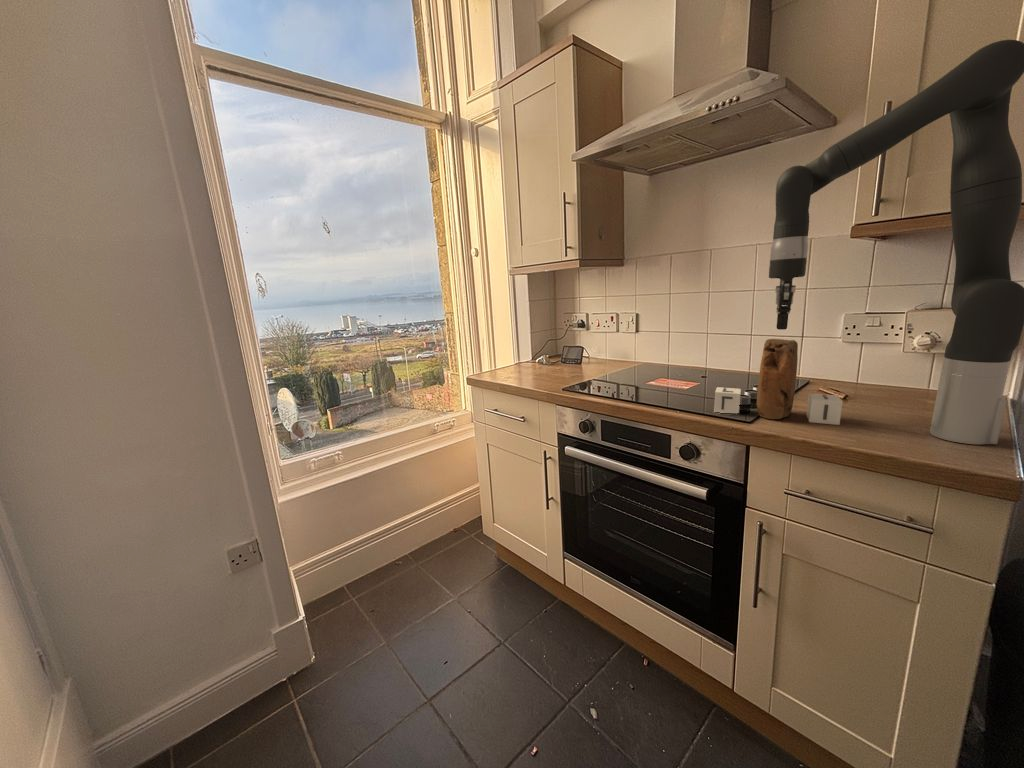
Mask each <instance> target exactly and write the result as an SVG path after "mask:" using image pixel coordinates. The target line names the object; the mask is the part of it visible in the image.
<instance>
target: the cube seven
mask: <svg viewBox="0 0 1024 768" xmlns="http://www.w3.org/2000/svg"><path fill="white" fill-rule="evenodd" d="M741 392H742V389H741V388H737V387H736V388H733V387H721V386H720V387H719V386H718V387H716V388H715V391H714V404H713V413H714V412H720V413H739V414H740V406H739V405H740V402H741V395H742V394H741ZM720 413H719V414H720Z"/></svg>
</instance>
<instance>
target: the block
mask: <svg viewBox="0 0 1024 768" xmlns="http://www.w3.org/2000/svg"><path fill="white" fill-rule="evenodd" d="M798 344H799V343H798V342H797V340H795V339H790V340H788V339H781V338H769V339H766V340H765V342H764V344H763V345H764V346H763V350H762V355H761V361H760V367H759V374H758V383H757V395H756V410H757V413H758V415H759V417H762V418H764V419H769V420H780V419H783V418H787V417H788V416H790V414H791V413H792V410H793V406H794V405H793V404H794V400H795V391H796V386H797V385H796V382H797V374H798V358H799V357H798V351H799V349H798V347H799V345H798Z"/></svg>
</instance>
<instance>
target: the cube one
mask: <svg viewBox="0 0 1024 768" xmlns="http://www.w3.org/2000/svg"><path fill="white" fill-rule="evenodd" d="M843 402H844V401H843V400H842V399H841V397H840V396H839V395H838V394H837V395H836V394H822V393H808V400H807V409H806V417H807V419H808V422H809V423H815V424H816V423H817V424H825V425H826V424H828V425H838V426H840V423H841V417H842V408H843Z"/></svg>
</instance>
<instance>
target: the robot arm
mask: <svg viewBox="0 0 1024 768" xmlns="http://www.w3.org/2000/svg"><path fill="white" fill-rule="evenodd" d="M1023 74H1024V42H1023V41H1020V40H1017V39H1002V40H998V41H995V42H992V43H989V44H987V45H984V46H983V47H980V48H979V49H978V50H976V51H975V52H974V53H972V54H971V55H969V57H967V58H966V59H964V60H962V62H960V63H959V64H958V65H956V66H955V67H953V68H952V69H951V70H950V71H948V72H947V73H946V74H945V75H943V76H942V77H940V78H939V79H937V80H936V81H935V82H932V84H930V85H929V86H927V87H926V88H925V89H923V90H921V91H920V92H918V93H917V94H915V95H914V96H913V97H911V98H910V99H908V100H907V101H905V102H904V103H901V104H900V105H899V106H897V107H895V108H893V109H891V110H890V111H889V112H887V113H885V114H884V115H882V116H880V117H879V118H877V119H875V120H873V121H872V122H870V123H868V124H867V125H864V126H863V127H862V128H860V129H857V131H854V132H853V133H851V134H849V135H848V136H846V137H844V138H843V139H841V140H839V141H837V142H836V143H834V144H832V145H831V146H829V147H828V148H827V149H825V150H824V151H823V152H822V153H821V155H819V156H818V157H817V158H815V159H813V160H812V161H810V162H809V163H807V164H805V165H804V166H803V165H793V166H791V167H788V168H787V169H786V170H784V171H783V172H782V174H781V175H780V176H779V177H778V179H777V181H776V186H775V187H776V188H775V220H774V224H773V225H774V226H773V237H772V244H771V247H770V256H769V257H770V258H769V268H768V279H779V285H776V286H775V292H774V293H775V294H776V295H775V305H777V306H776V314H777V317H776V329H777V330H781V331H782V330H786V329H787V328H788V321H789V314H790V313H791V310H792V308H791V307H792V305H793V303H794V295H795V293H796V286H797V285H793V280H794V279H795V278H803V277H805V276H806V272H807V271H806V270H807V263H808V262H807V259H808V250H809V229H810V210H809V209H810V203H811V196H812V195H813V194H815V193H817V192H818V191H820V190H822V189H823V188H825V187H827V186H828V185H829V184H831V183H832V182H834V181H836V180H837V179H838V178H841V177H843V176H845V175H847V174H849V173H850V172H852V171H855V170H856V169H858V168H860V167H862V166H864V165H866V164H868V163H869V162H871V161H872V160H874V159H876V158H878V157H879V156H880V155H883V154H884V153H886V152H887V151H890V149H892V148H893V147H895V146H896V145H898V144H899V143H901V142H903V141H904V140H906V139H907V138H909V137H910V136H911V135H914V134H915V133H917V132H918V131H919V130H922V129H924V127H926V126H928V125H930V124H931V123H933V122H936V121H937V120H939V119H940V118H942V117H944V116H946V115H948V114H949V120H950V124H951V133H952V142H953V143H952V144H953V146H952V147H953V149H952V157H951V168H950V190H949V191H950V192H949V193H950V203H949V204H950V218H951V231H952V240H953V241H952V242H953V247H954V253H955V268H954V280H953V287H952V292H951V293H952V294H951V300H950V305H951V310H952V313H953V314H954V316H955V320H954V324H953V329H952V334H951V336H950V339H949V341H948V343H947V344H946V346H945V349H944V356H943V361H942V366H941V371H940V376H939V382H938V387H937V392H936V398H935V402H934V408H933V413H932V418H931V422H930V428H929V433H930V435H932V436H933V437H935V438H939V439H941V440H946V441H949V442H954V443H961V444H968V445H998V442H999V438H1000V433H1001V429H1002V424H1003V421H1004V417H1005V416H1004V415H1005V411H1006V408H1007V403H1008V400H1007V398H1004V397H1003V396H1004V392H1005V387H1006V383H1007V380H1008V379H1007V378H1008V374H1009V368H1010V364H1011V361H1012V358H1013V357H1012V356H1013V353H1014V351H1015V350H1016V349H1017V347H1018V345H1019V344H1020V343H1019V342H1020V341H1021V336H1022V334H1023V333H1022V332H1023V330H1024V329H1023V328H1024V286H1023V285H1021V284H1019V283H1018V282H1016V281H1014V280H1012V277H1011V269H1010V247H1011V243H1012V240H1013V235H1014V233H1015V230H1016V226H1017V223H1018V221H1019V217H1020V213H1021V208H1022V199H1023V178H1022V177H1023V170H1022V163H1021V160H1020V157H1019V154H1018V150H1017V149H1016V146H1015V143H1014V142H1013V139H1012V136H1011V133H1010V127H1009V113H1010V103H1011V95H1012V90H1013V87H1014V85H1016V84H1017V82H1018V81H1019V80H1020V79H1021V77H1022V76H1023Z"/></svg>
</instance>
